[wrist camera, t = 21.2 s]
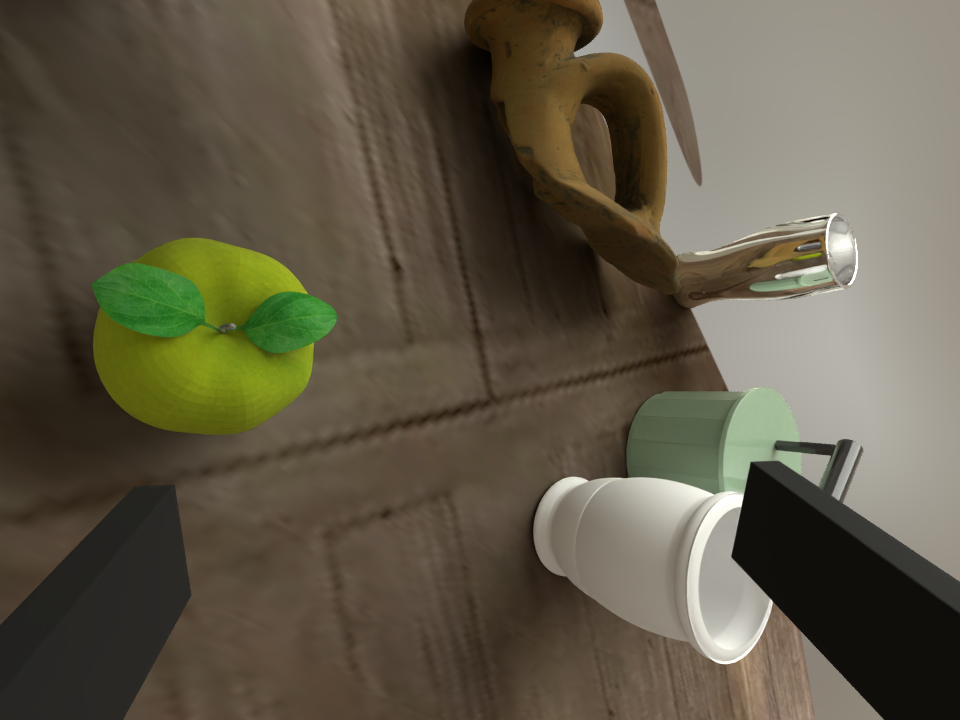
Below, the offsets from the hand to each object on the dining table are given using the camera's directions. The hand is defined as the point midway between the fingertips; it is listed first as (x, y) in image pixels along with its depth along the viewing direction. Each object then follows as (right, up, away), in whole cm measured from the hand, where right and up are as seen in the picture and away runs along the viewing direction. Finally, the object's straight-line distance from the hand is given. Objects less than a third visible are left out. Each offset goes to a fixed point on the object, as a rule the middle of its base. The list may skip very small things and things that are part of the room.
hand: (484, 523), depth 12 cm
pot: (+19, -6, +41) cm, 45 cm away
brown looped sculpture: (+5, +20, +33) cm, 39 cm away
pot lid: (+25, -5, +33) cm, 41 cm away
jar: (+7, -11, +32) cm, 35 cm away
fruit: (-16, +5, +17) cm, 24 cm away
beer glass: (+22, +12, +44) cm, 51 cm away
